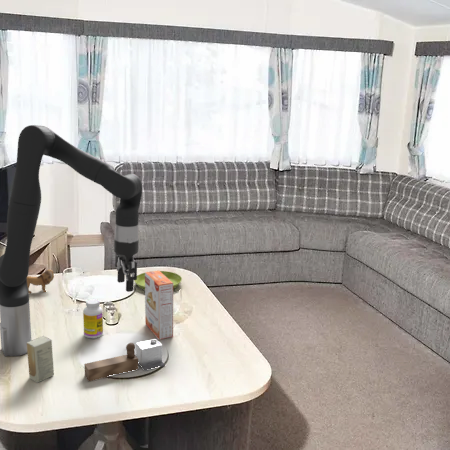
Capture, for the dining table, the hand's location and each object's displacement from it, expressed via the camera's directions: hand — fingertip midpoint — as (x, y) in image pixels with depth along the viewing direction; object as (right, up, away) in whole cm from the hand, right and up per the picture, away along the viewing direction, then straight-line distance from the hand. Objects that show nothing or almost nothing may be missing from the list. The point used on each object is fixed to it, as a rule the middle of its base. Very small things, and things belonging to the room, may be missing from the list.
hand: (125, 286), depth 189 cm
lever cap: (+7, -24, +3) cm, 25 cm away
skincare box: (-24, -27, -8) cm, 37 cm away
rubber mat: (+7, -25, +3) cm, 26 cm away
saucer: (+3, -7, +69) cm, 69 cm away
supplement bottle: (-15, -19, +20) cm, 32 cm away
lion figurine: (-46, -8, +58) cm, 75 cm away
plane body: (-3, -26, -4) cm, 27 cm away
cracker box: (+8, -19, +25) cm, 33 cm away
